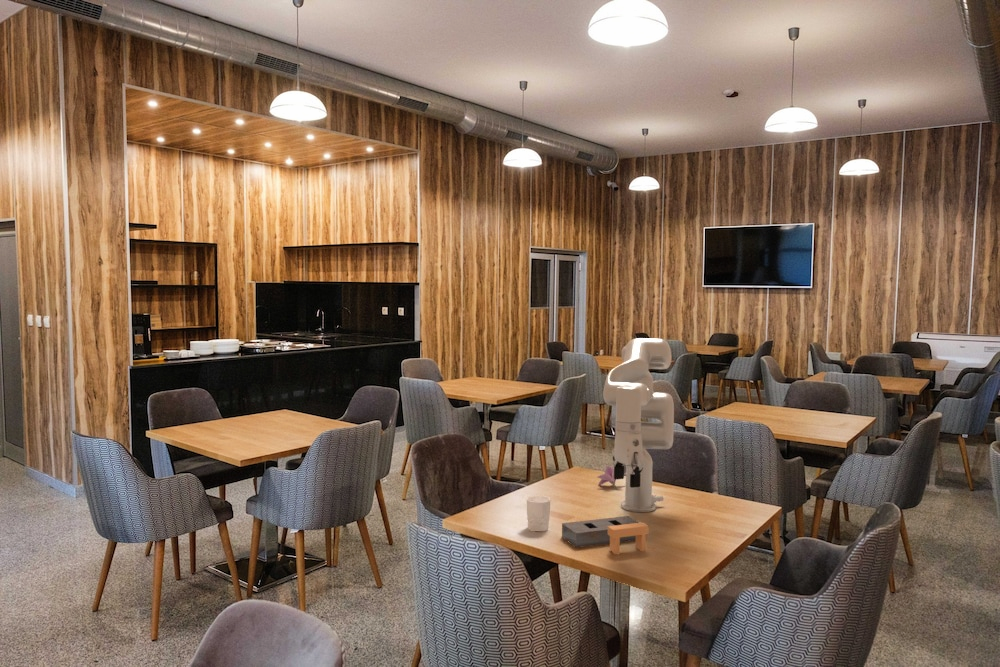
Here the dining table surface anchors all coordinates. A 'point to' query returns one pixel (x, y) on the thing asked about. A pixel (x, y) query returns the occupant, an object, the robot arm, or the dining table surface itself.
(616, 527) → the orange arch block
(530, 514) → the white cup
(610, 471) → the lily
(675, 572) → the dining table surface
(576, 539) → the grey slotted block
